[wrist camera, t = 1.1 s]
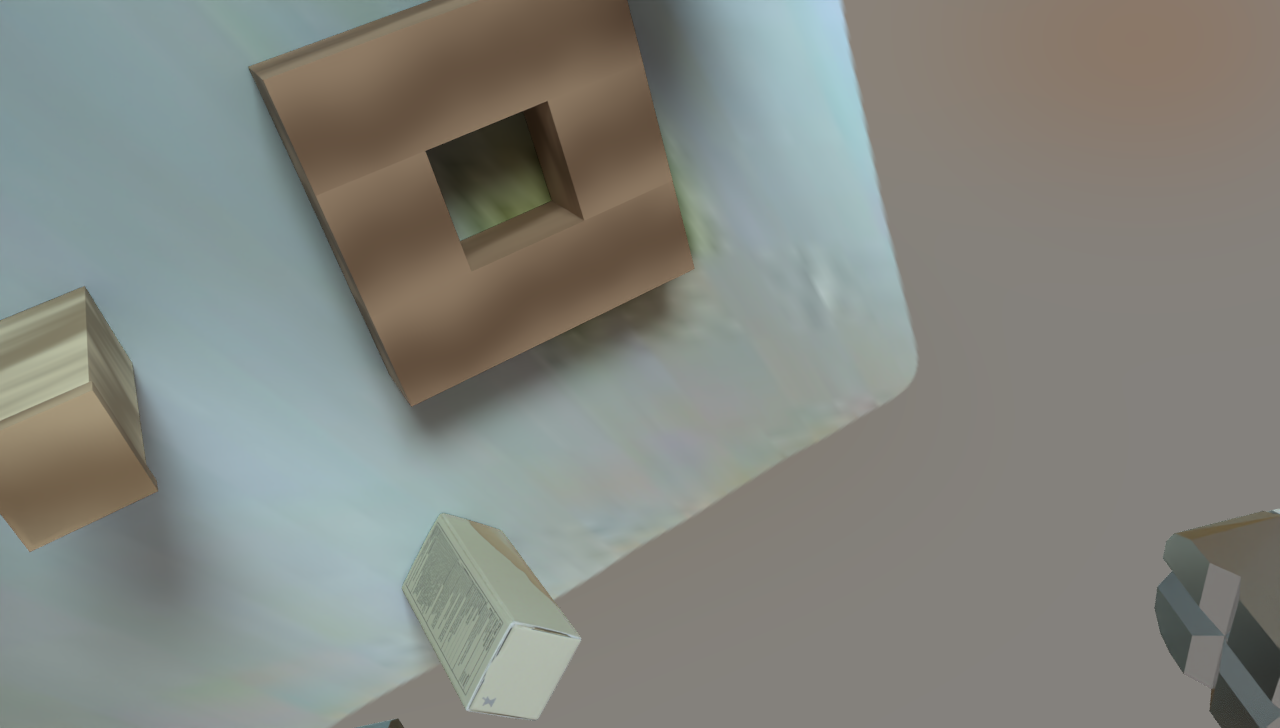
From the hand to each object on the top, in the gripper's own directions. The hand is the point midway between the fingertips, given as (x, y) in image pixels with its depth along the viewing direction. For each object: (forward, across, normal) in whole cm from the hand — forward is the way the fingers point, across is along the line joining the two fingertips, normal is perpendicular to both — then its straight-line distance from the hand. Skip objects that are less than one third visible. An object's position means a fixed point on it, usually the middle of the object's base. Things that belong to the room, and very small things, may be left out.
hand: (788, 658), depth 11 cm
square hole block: (+40, +6, +12) cm, 42 cm away
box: (+35, +14, +32) cm, 49 cm away
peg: (+32, +25, +12) cm, 42 cm away
